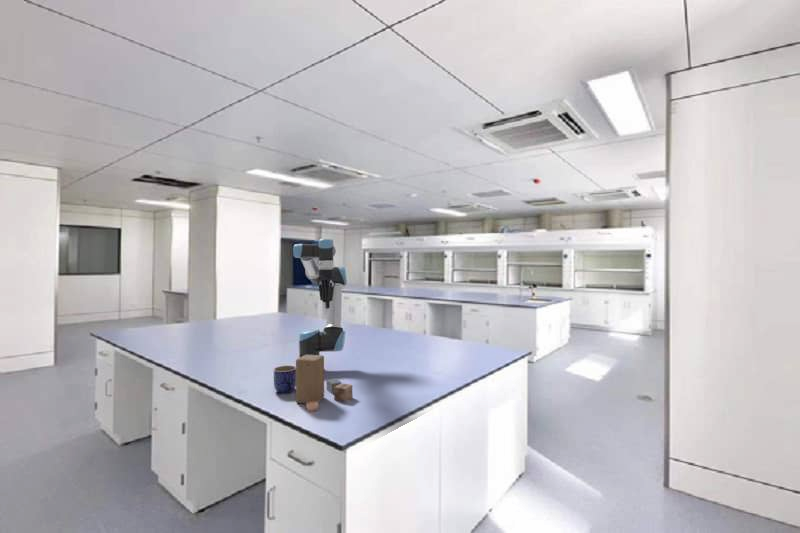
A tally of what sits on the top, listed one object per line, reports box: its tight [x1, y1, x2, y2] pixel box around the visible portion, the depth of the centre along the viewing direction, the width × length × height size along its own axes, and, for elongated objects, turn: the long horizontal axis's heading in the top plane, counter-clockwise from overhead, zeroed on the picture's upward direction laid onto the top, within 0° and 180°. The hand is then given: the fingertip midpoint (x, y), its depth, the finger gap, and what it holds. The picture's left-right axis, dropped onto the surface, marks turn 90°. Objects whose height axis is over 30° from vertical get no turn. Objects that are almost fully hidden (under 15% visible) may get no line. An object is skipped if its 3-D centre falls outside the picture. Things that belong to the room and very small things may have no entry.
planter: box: [273, 365, 296, 394], centre depth 183 cm, size 11×11×11 cm
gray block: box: [326, 378, 342, 395], centre depth 183 cm, size 7×5×5 cm
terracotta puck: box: [306, 401, 319, 413], centre depth 160 cm, size 5×5×3 cm
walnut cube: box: [333, 382, 353, 403], centre depth 173 cm, size 6×6×6 cm
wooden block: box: [295, 354, 325, 405], centre depth 171 cm, size 10×10×20 cm
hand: (326, 314), depth 193 cm, fingers closed
